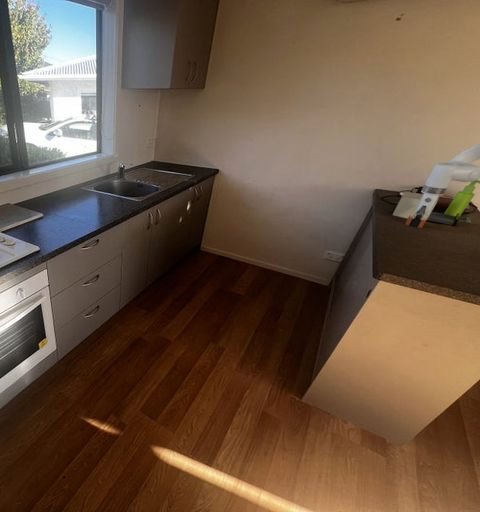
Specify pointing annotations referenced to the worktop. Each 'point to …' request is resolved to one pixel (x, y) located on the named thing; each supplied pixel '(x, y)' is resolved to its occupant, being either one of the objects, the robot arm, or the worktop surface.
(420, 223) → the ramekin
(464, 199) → the soap dispenser
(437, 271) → the worktop surface
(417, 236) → the worktop surface
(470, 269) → the worktop surface
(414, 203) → the cream box
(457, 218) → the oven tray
